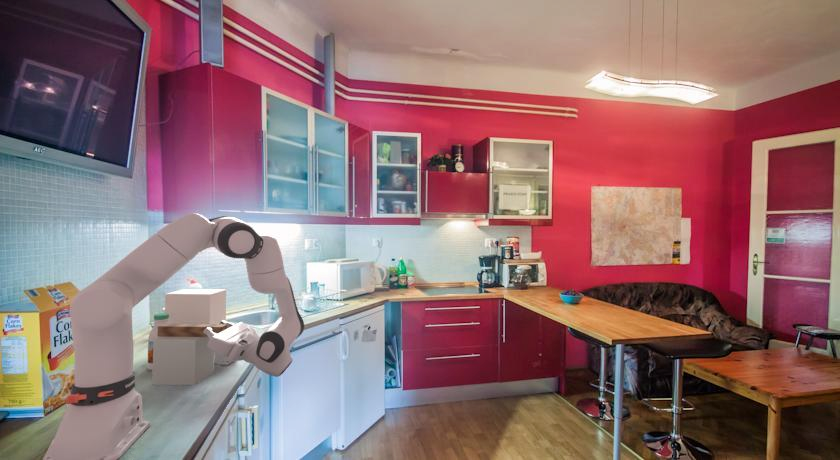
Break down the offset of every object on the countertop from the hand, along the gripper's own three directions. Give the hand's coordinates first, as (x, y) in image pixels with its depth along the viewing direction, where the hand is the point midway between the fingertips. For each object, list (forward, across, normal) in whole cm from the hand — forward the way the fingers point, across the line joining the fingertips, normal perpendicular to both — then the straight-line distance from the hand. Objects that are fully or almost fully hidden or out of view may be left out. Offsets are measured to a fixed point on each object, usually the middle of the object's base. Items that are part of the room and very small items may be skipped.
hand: (213, 325), depth 122 cm
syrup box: (-6, -15, +18) cm, 24 cm away
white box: (+9, -25, +26) cm, 37 cm away
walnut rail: (+4, 0, +6) cm, 8 cm away
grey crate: (-1, 0, +21) cm, 21 cm away
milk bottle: (+12, -10, +29) cm, 33 cm away
